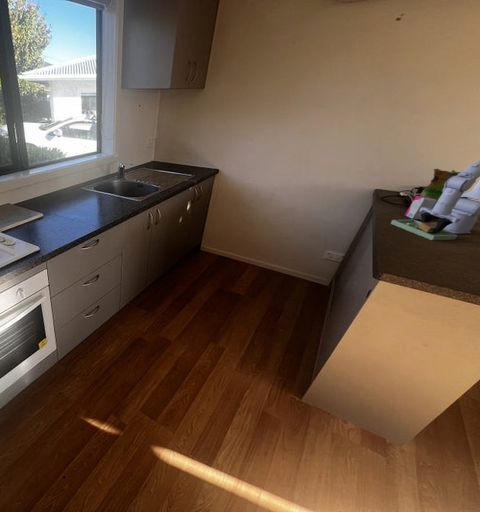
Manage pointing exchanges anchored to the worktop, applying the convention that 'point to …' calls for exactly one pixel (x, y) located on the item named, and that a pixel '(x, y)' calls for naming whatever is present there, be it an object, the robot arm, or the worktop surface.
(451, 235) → the tray
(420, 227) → the eraser
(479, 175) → the robot arm
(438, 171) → the pouch
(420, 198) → the supplement box
